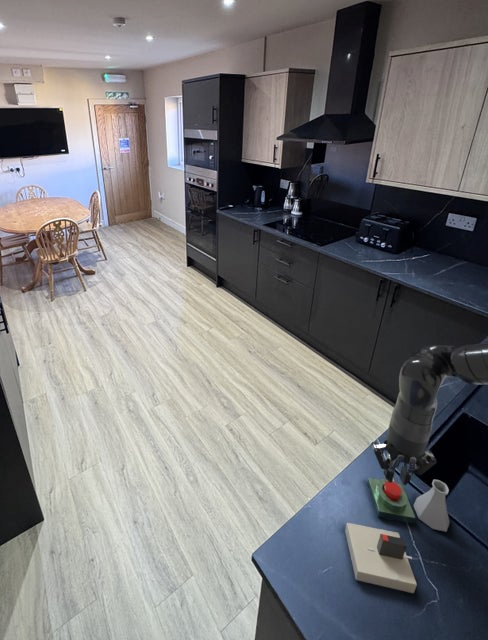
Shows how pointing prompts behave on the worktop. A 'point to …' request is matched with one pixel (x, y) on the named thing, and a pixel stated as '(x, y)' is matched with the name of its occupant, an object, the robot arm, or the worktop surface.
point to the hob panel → (377, 560)
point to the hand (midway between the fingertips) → (395, 479)
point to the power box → (390, 502)
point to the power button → (392, 490)
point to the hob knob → (391, 546)
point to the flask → (433, 506)
